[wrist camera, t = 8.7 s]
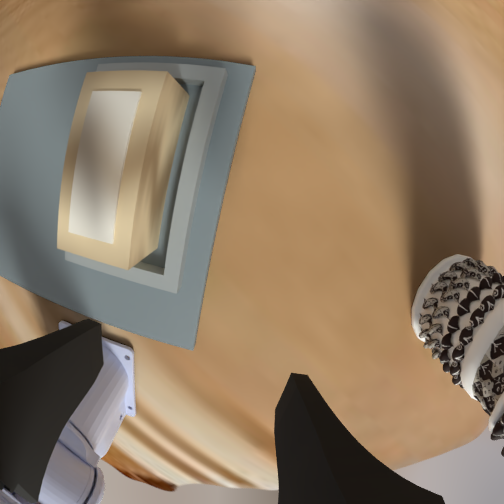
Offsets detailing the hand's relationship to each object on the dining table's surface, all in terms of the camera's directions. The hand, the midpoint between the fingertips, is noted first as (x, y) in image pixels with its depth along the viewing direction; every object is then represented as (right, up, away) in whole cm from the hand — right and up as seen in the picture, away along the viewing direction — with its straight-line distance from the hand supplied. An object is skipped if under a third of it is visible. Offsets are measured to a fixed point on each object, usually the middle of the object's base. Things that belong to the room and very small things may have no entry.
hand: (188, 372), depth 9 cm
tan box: (-5, +10, +7) cm, 13 cm away
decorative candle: (+19, 0, +10) cm, 22 cm away
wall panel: (-11, +9, +8) cm, 17 cm away
